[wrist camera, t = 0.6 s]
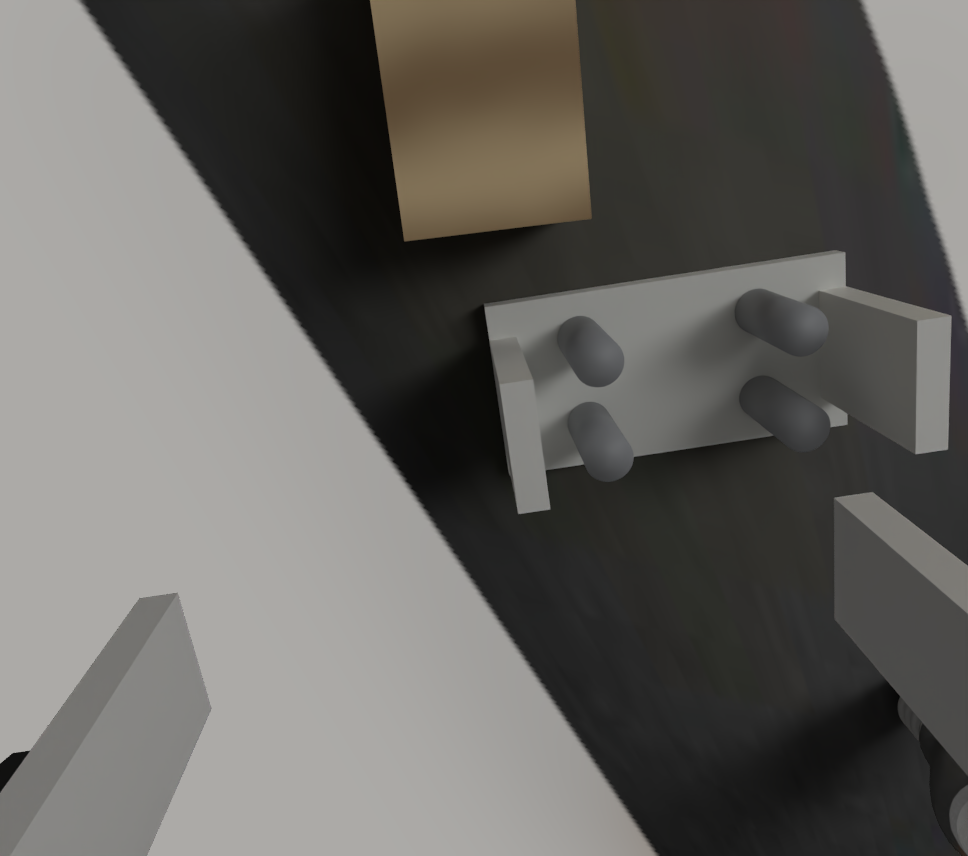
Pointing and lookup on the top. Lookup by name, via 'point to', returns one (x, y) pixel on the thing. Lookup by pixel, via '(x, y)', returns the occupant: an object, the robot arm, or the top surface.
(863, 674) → the top surface
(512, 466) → the peg stand
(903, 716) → the light bulb
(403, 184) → the wooden block
